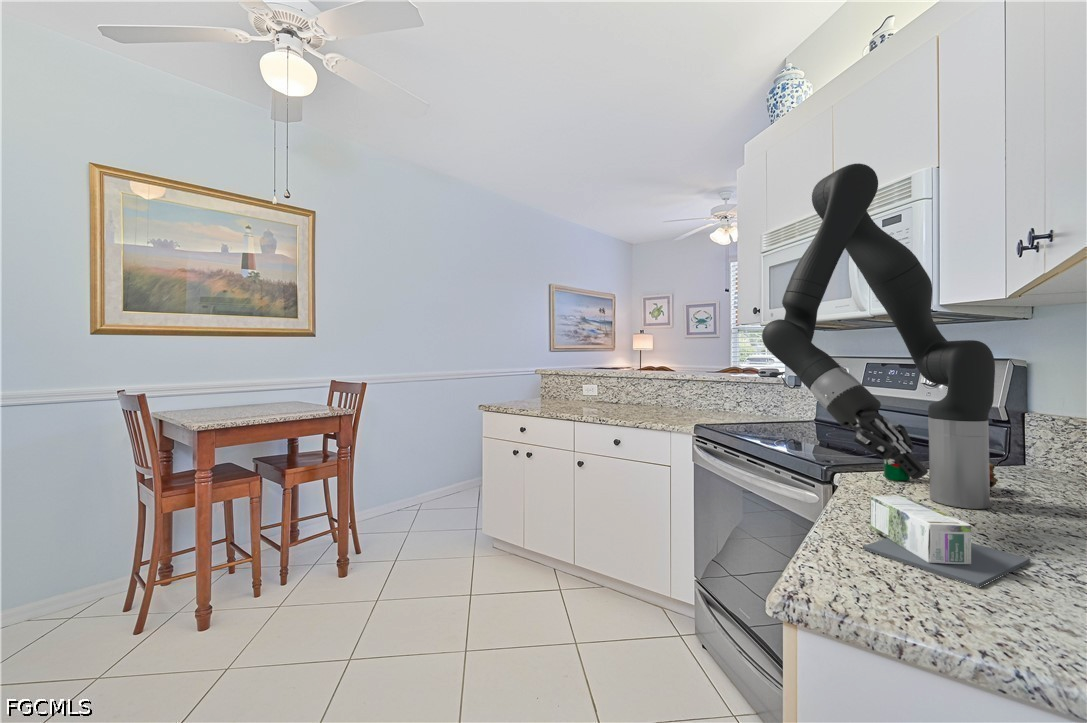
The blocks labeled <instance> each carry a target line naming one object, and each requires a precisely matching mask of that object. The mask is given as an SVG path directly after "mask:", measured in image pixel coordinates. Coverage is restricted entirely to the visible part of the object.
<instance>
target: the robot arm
mask: <svg viewBox="0 0 1087 723" xmlns="http://www.w3.org/2000/svg"><path fill="white" fill-rule="evenodd" d="M878 189H879V178H878V175H877V173H876V171H875V170H874V169H873V168H872V167H870V165H867V164H865V163H850V164H848V165H846V166H844V167H840V168H839V169H837V170H835V171H833V172H832V173H830V174H828V175H827V176H825V177H824V178H822V179H820V180H819V181H818V182H817V184H815V185H814V187H813V190H812V192H811V203H812V206H813V208H814V211H815V213H817V215H818V216H819V218H820V219H821V220H822V222H821V224H820V226H819V228H818V230H817V232H816V234H815V235H814V238H813V239H812V241H811V242H810V244H809V246H808V247H807V249H806V250H805V251H804V253H803V255H802V256H801V258H800V259H799V261H798V263H797V265H796V266H795V268H794V270H793V271H792V274H791V276H790V279H789V280H788V281H789V282H788V284H787V286H786V289H785V291H784V293H783V294H784V295H783V297H782V300H781V302H782V303H781V304H782V307H783V309H784V310H785V315H784V318H783V319H781V318H780V319H775V320H771V321H770V322H768V323H767V324H766V325H765V326H764V328H763V330H762V334H761V337H762V338H761V340H762V342H763V345H764V347H765V348H766V349H767V350H768V352H770V353H771V355H773V356H774V357H775V358H776V359H778V360H779V362H781V363H782V364H784V366H785V367H787V368H788V369H789V370H790V371H791V372H793V373H794V374H795V375H796V377H797V378H798V380H800V381H801V383H802V384H803V385H804V386H805V387H806V388H807V389H808V390H809V391H810V392H811V393H812V395H813V396H814V398H815V399H816V401H818V403H819V404H820V405H821V406H822V407H823V408H824V409H825V410H826V411H827V412H828V414H829V415H830V416H832V418H834V420H835V421H836V422H837V423H838V424H839V426H840V427H842V428H844V429H853V431H854V432H856V435H855V436H854V437H852V441H854V442H855V443H857V444H858V445H859V446H862V447H863V448H864V449H866V450H868V451H870V452H871V453H872V454H874V455H876V456H878V457H879V458H881V459H883V460H884V459H885V460H886V459H887V458H889V459H890V460H891V461H893V462H895V461H896V463H897V464H898V465H899V466H900V467H901V468H902V469H903V470H904V471H905V472H906V473H907V474H908V475H909V476H910V479H912V480H918V479H921V478H923V477H924V476H926V475H927V474H928V473H929V474H928V476H929V478H928V479H929V480H928V482H929V500H931V501H933V502H935V503H938V504H941V505H945V506H950V507H955V508H962V509H972V510H982V509H983V510H984V509H985V510H986V509H990V507H991V497H990V496H991V493H990V491H991V490H990V489H991V487H990V476H989V463H990V433H989V429H990V428H989V415H990V414H989V413H990V411H991V409H992V407H993V404H994V396H995V395H994V394H995V378H996V362H995V357H994V353H993V352H992V350H991V348H990V347H989V346H988V345H987V344H986V343H984V342H982V341H979V340H974V339H971V340H968V339H967V340H966V339H964V340H948V339H946V338H945V337H944V335H943V334H942V332H941V331H940V330H939V328H938V327H937V325H936V323H935V321H934V319H933V316H932V315H933V314H932V301H933V285H932V284H933V283H932V281H931V278H930V276H929V274H928V273H927V271H926V270H925V268H924V267H923V265H922V263H921V262H920V260H919V259H918V258H917V256H916V255H915V254H914V253H913V252H912V251H911V250H910V249H909V248H908V247H907V246H906V245H904V244H903V243H902V242H901V241H899V240H897V239H896V238H895V237H894V236H892V235H890V234H888V233H887V232H885V230H883V229H882V228H881V227H880V226H878V225H877V224H876V223H875V221H874V220H873V218H872V217H871V216H870V214H869V212H868V209H869V208H870V206H871V204H872V203H873V201H874V199H875V198H876V195H877V192H878ZM844 250H846V251H847V253H848V255H849V256H850V258H851V259H852V261H853V263H854V264H855V266H856V268H858V270H859V272H860V273H861V274H862V276H863V278H864V279H865V281H866V283H867V285H868V286H869V288H870V290H871V291H872V292H873V294H874V296H875V297H876V299H877V300H878V302H879V303H880V304H881V306H882V307H883V308H884V310H885V311H886V313H887V314H888V317H889V318H890V320H891V321H892V323H893V324H894V326H895V328H896V329H897V331H898V333H899V334H900V336H901V338H902V340H903V342H904V344H905V346H906V349H907V350H908V352H909V355H910V356H911V359H912V361H913V363H914V365H915V367H916V369H917V370H918V372H919V373H920V375H921V376H922V377H923V378H924V379H925V380H927V381H928V382H929V383H932V384H935V385H943V386H947V391H946V395H945V396H944V397H943V398H942V399H940V400H938V401H935V402H932V403H930V404H929V405H928V409H927V410H928V411H927V414H928V417H927V418H928V419H927V420H928V469H927V468H926V467H925V466H924V465H923V464H922V463H921V462H920V461H919V460H918V459H917V458H916V457H915V456H914V455H913V454H912V450H914V448H915V446H914V444H913V442H912V440H911V438H910V435H909V434H908V431H907V430H906V428H905V426H904V425H902V424H898V425H895V426H894V425H893V424H892V423H891V422H890V421H889V419H888V418H886V417H884V415H882V414H881V413H879V410H880V409H881V406H882V403H881V401H880V400H878V398H876V397H875V395H874V394H872V393H871V392H870V390H868V389H867V388H866V387H865V386H864V385H863V384H862V383H861V382H860V381H859V380H858V379H857V378H856V377H855V376H854V375H852V374H851V373H850V372H848V371H847V370H846V369H844V368H843V366H841V365H840V364H839V363H838V362H837V361H836V360H835V359H834V358H833V357H831V355H829V354H828V353H827V352H825V351H824V350H822V349H821V348H818V347H817V346H816V345H815V344H814V343H812V341H813V339H814V335H815V329H816V324H817V318H818V311H819V307H820V305H821V303H822V301H823V298H824V296H825V293H826V290H827V288H828V286H829V284H830V281H831V279H832V276H833V273H834V272H835V270H836V267H837V264H838V262H839V260H840V259H841V256H842V254H843V252H844ZM908 435H909V436H908Z"/></svg>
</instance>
